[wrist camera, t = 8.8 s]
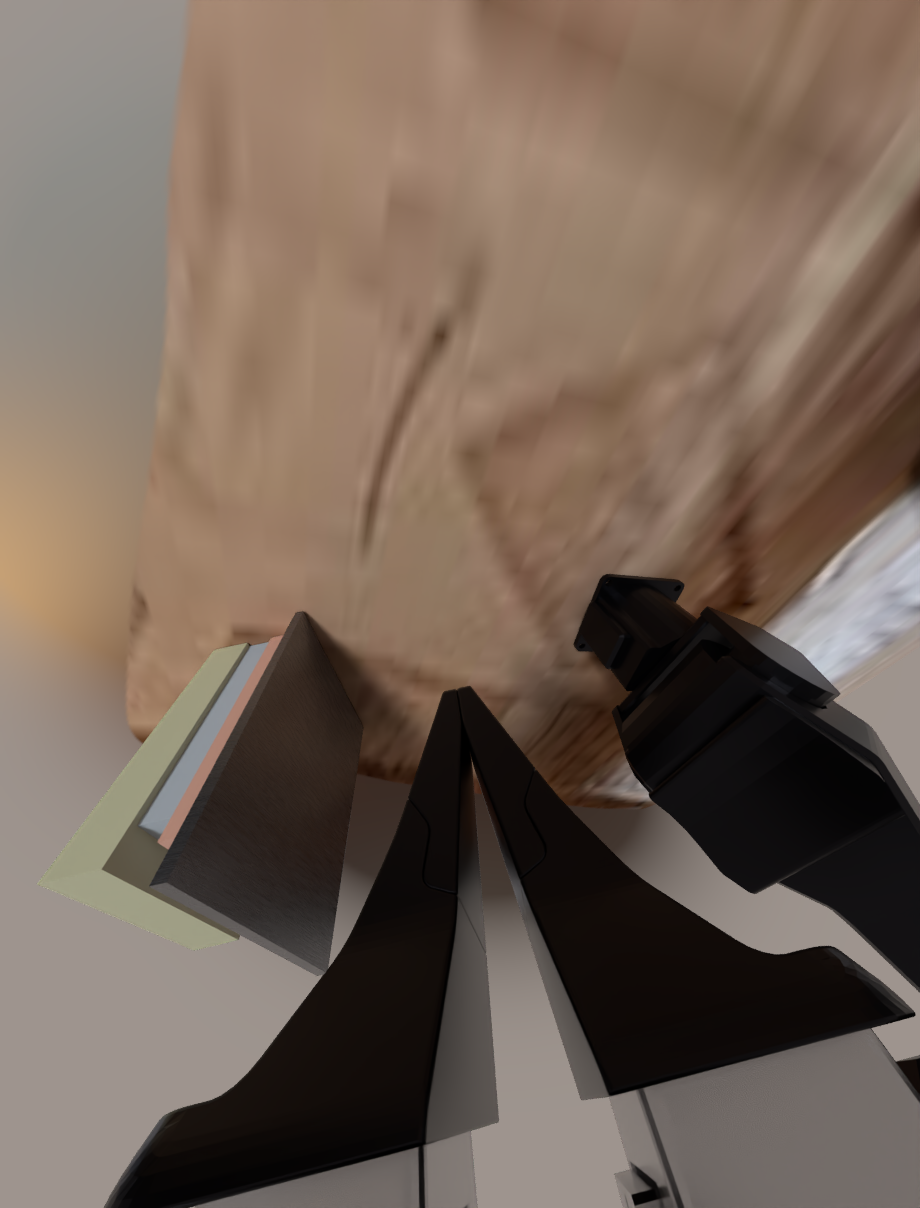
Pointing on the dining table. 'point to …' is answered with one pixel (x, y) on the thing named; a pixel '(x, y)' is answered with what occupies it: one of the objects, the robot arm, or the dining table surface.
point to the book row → (160, 805)
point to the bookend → (275, 811)
